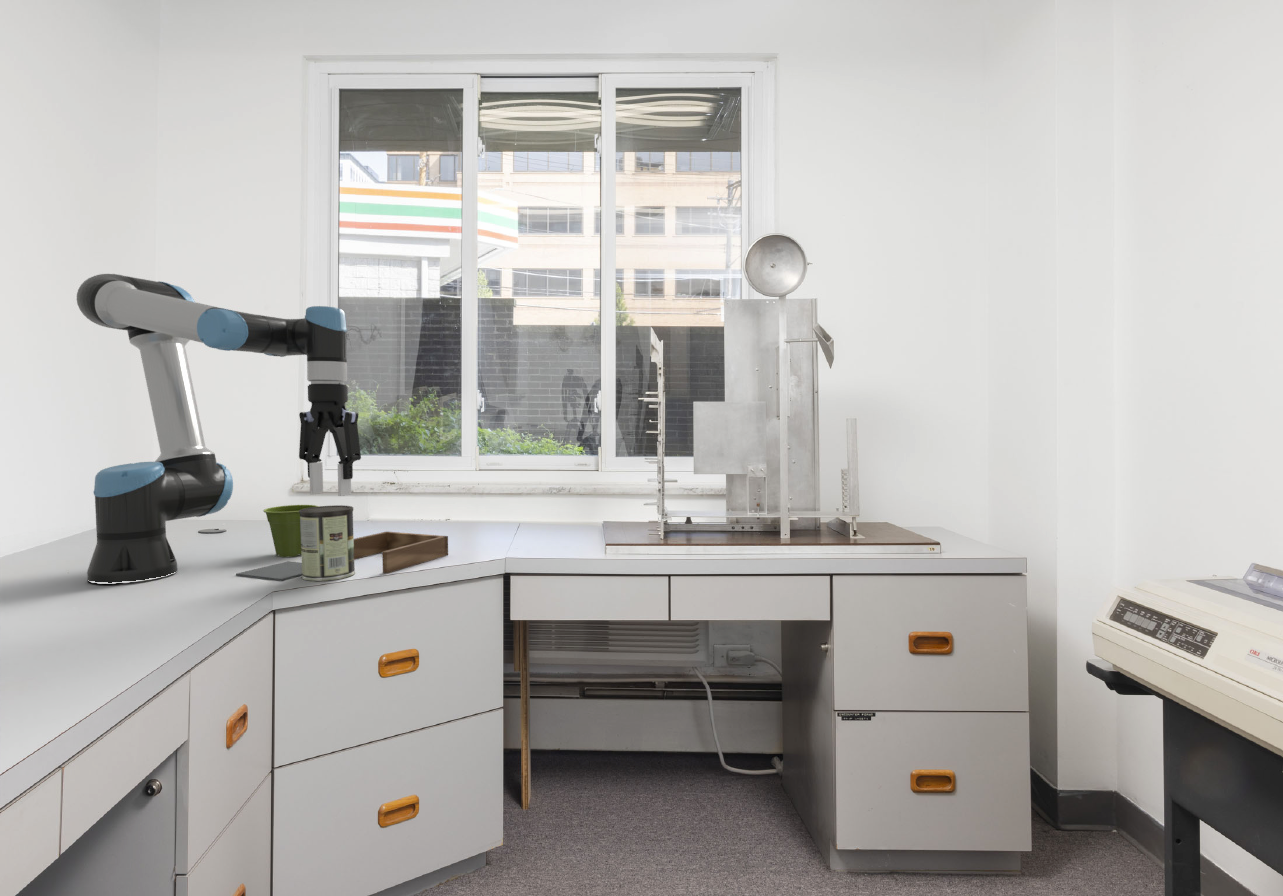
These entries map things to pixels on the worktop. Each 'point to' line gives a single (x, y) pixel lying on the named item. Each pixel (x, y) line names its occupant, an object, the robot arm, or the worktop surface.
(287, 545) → the plant pot
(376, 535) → the frame
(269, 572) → the slate mat
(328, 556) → the coffee can
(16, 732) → the worktop surface
